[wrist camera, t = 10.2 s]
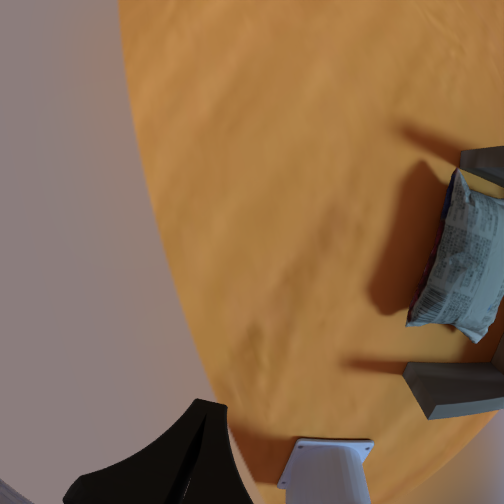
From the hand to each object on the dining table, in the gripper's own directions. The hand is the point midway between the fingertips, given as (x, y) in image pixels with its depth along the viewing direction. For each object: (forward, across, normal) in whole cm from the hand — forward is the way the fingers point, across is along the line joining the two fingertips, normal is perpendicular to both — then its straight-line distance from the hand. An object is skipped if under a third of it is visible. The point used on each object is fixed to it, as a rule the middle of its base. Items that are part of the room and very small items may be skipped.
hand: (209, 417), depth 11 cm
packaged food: (+11, -16, -8) cm, 21 cm away
